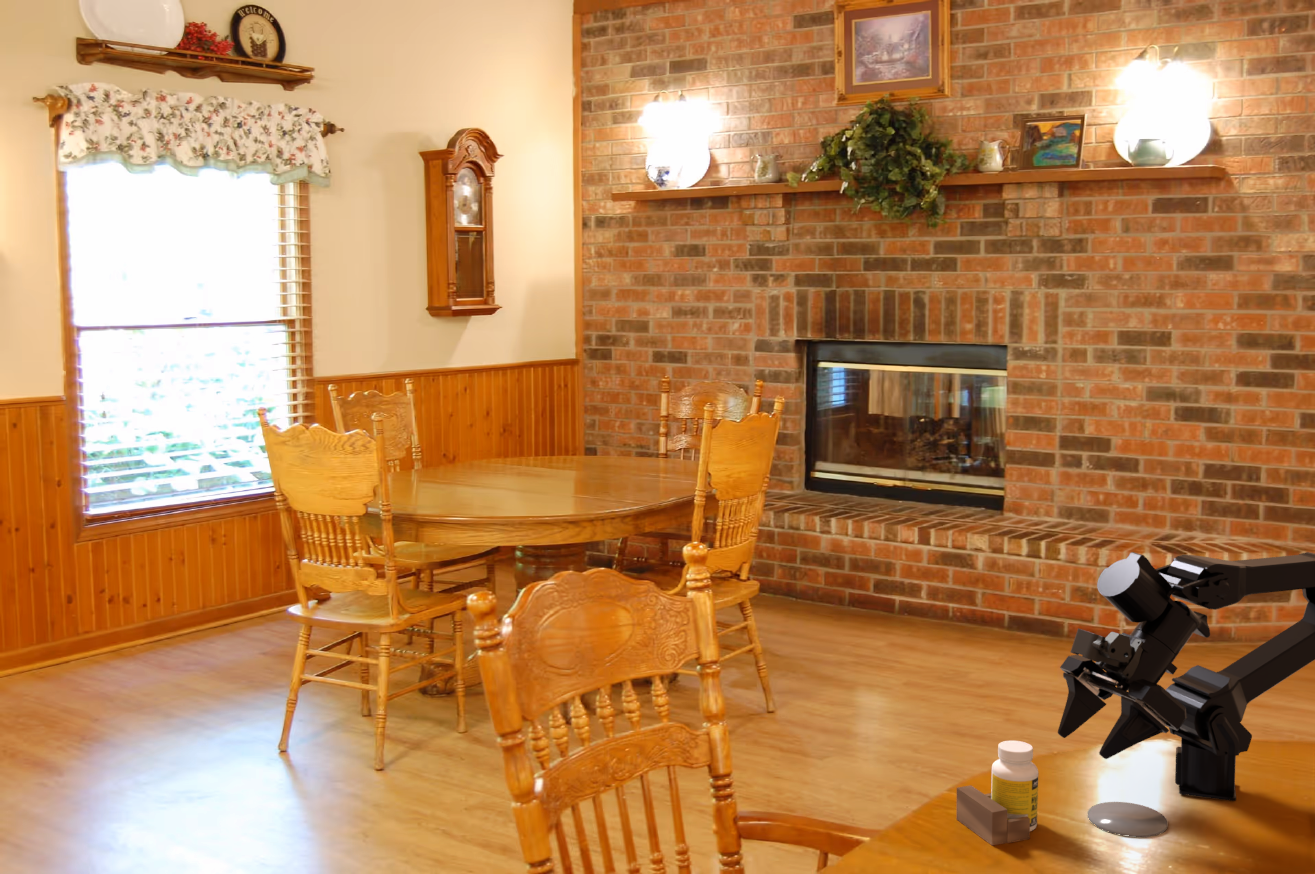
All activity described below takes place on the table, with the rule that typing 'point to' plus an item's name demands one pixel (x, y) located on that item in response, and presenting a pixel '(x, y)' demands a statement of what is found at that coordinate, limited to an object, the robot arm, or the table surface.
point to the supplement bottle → (1016, 781)
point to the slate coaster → (1127, 819)
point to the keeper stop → (989, 817)
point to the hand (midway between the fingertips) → (1080, 745)
